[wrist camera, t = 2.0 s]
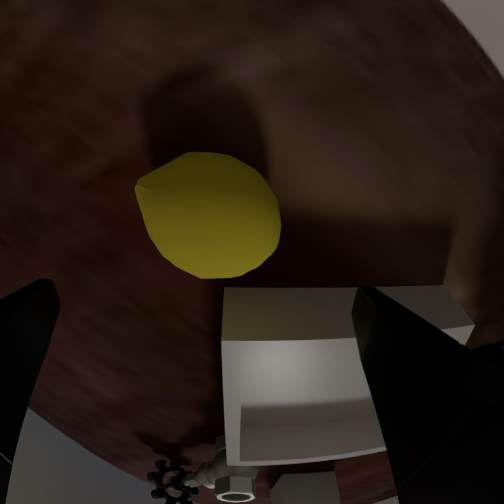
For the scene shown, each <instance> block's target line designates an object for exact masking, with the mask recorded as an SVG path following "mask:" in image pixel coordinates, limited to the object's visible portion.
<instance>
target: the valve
mask: <svg viewBox="0 0 504 504" xmlns="http://www.w3.org/2000/svg"><path fill="white" fill-rule="evenodd" d="M216 452H217V455H216V456H215V458H214V461H208V462H205V463H202V464H201V465H200V466H199V468H198V471H195V472H192V471H186V472H185V470H184V469H183V468H181V467H179V466H182V463H181V462H180V461H178V460H174V461H171V462H170V464H169V465H170V467H166V465H165V463H167V462H166V461H165V460H159V461H156V462H155V467H156V468H157V469H158V470H159V472H158V473H157V472H151V473H148V474H147V479H148V480H149V481H151V482H155V483H156V487H157V488H156V490H152V492H151V495H152V497H153V498H155V499H159V498H165V499H166V501H167V502H166V503H165V504H176V502H179V503H180V504H193V503H192V501H188V500H187V498H190V497H191V496H192V495H197V494H198V493H199V490H198V488H197V487H196V486H200V485H204V486H206V487H208V488H215V496H216V497H217V498H218V499H220V500H222V501H227V502H245V501H249V500H252V499H254V498H256V486H255V483H254V479H255V478H256V475H257V472H258V466H227V455H226V438H225V434H223V435H220V436H218V437H216ZM167 472H172V473H175V474H176V476H173V477H171V479H167V484H163V482H162V480H163V476H164V475H165V473H167ZM156 473H157V474H156ZM166 488H169V489H170V490H171V491H177V492H180V491H183V493H182V495H181V496H180V497H178V498H176V497H173V496H170V495H169V494H168V493H167V492H166V490H165V489H166Z"/></svg>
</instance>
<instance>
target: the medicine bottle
mask: <svg viewBox="0 0 504 504" xmlns="http://www.w3.org/2000/svg"><path fill="white" fill-rule="evenodd" d="M270 494H271V504H341V503H340V498H339V493H338V488H337V483H336V478H335V473H334V472H333V471H327V472H314V473H293V474H283V475H282V476H281V477H280V478H279V480H278V481H277V482H276V484H275V485H274V486H273V488H272V489H271V490H270Z"/></svg>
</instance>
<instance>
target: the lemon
mask: <svg viewBox="0 0 504 504" xmlns="http://www.w3.org/2000/svg"><path fill="white" fill-rule="evenodd" d="M135 192H136V196H137V199H138V202H139V206H140V209H141V212H142V216H143V219H144V222H145V225H146V228H147V231H148V234H149V236H150V238H151V239H152V241H153V242H154V244H155V245H156V247H157V248H158V250H159V251H160V253H161V254H162V255H163V256H164V257H165V258H166V259H168V260H169V261H170V262H171V263H173V264H174V265H175V266H176V267H178V268H180V269H182V270H184V271H186V272H188V273H190V274H192V275H195V276H197V277H199V278H201V279H204V278H232V277H237V276H241V275H243V274H245V273H247V272H249V271H250V270H252V269H255V268H257V267H258V266H259V265H261V264H262V263H263V262H264V261H265V260H266V259H267V258H268V257H269V256H270V255H271V254H272V253H273V252H274V250H275V249H276V248H277V246H278V242H279V238H280V231H281V219H280V210H279V202H278V200H277V199H276V197H275V195H274V193H273V192H272V190H271V188H270V186H269V185H268V183H267V181H266V180H265V179H264V178H263V177H262V176H261V175H260V174H259V173H258V172H257V171H256V170H255V169H254V168H252V167H251V166H249V165H247V164H245V163H243V162H242V161H240V160H238V159H236V158H234V157H233V156H231V155H225V154H219V153H213V152H187V153H185V154H183V155H181V156H180V157H178V158H176V159H174V160H172V161H170V162H169V163H167V164H165V165H163V166H161V167H160V168H158V169H156V170H154V171H152V172H151V173H149V174H147V175H145V176H144V177H142V178H140V179H139V180H138V181H137V183H136V186H135Z"/></svg>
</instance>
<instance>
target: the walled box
mask: <svg viewBox="0 0 504 504" xmlns="http://www.w3.org/2000/svg"><path fill="white" fill-rule="evenodd" d="M358 288H359V287H345V288H243V287H224V301H223V319H222V338H221V345H222V374H223V398H224V419H225V438H226V455H227V466H258V465H282V464H296V463H307V462H317V461H326V460H333V459H340V458H347V457H353V456H359V455H365V454H370V453H375V452H380V451H385V450H386V446H385V443H384V439H383V435H382V432H381V428H380V424H379V421H378V417H377V414H376V410H375V407H374V404H373V400H372V397H371V393H370V390H369V387H368V384H367V380H366V377H365V374H364V371H363V367H362V364H361V360H360V356H359V351H358V346H357V341H356V336H355V331H354V326H353V321H352V316H351V312H352V307H353V303H354V299H355V295H356V291H357V289H358ZM374 288H376V289H377V290H379V291H381V292H382V293H384V294H385V295H387V296H389V297H390V298H392V299H393V300H395V301H397V302H398V303H400V304H401V305H403V306H404V307H406V308H408V309H409V310H411V311H412V312H414V313H415V314H417V315H419V316H420V317H422V318H423V319H425V320H426V321H428V322H429V323H431V324H432V325H434V326H436V327H437V328H439V329H440V330H442V331H443V332H445V333H446V334H448V335H449V336H451V337H452V338H454V339H455V340H457V341H458V342H459V343H460V344H463V345H465V344H466V342H467V340H468V338H469V336H470V334H471V332H472V330H473V328H474V326H475V324H474V323H473V321H472V320H471V319H470V317H469V316H468V315H467V314H466V312H465V311H464V310H463V309H462V307H461V306H460V305H459V304H458V302H457V301H456V300H455V299H454V297H453V296H452V295H451V294H450V293H449V291H448V290H447V289H446V288H445V287H444V285H426V286H394V287H374Z"/></svg>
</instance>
